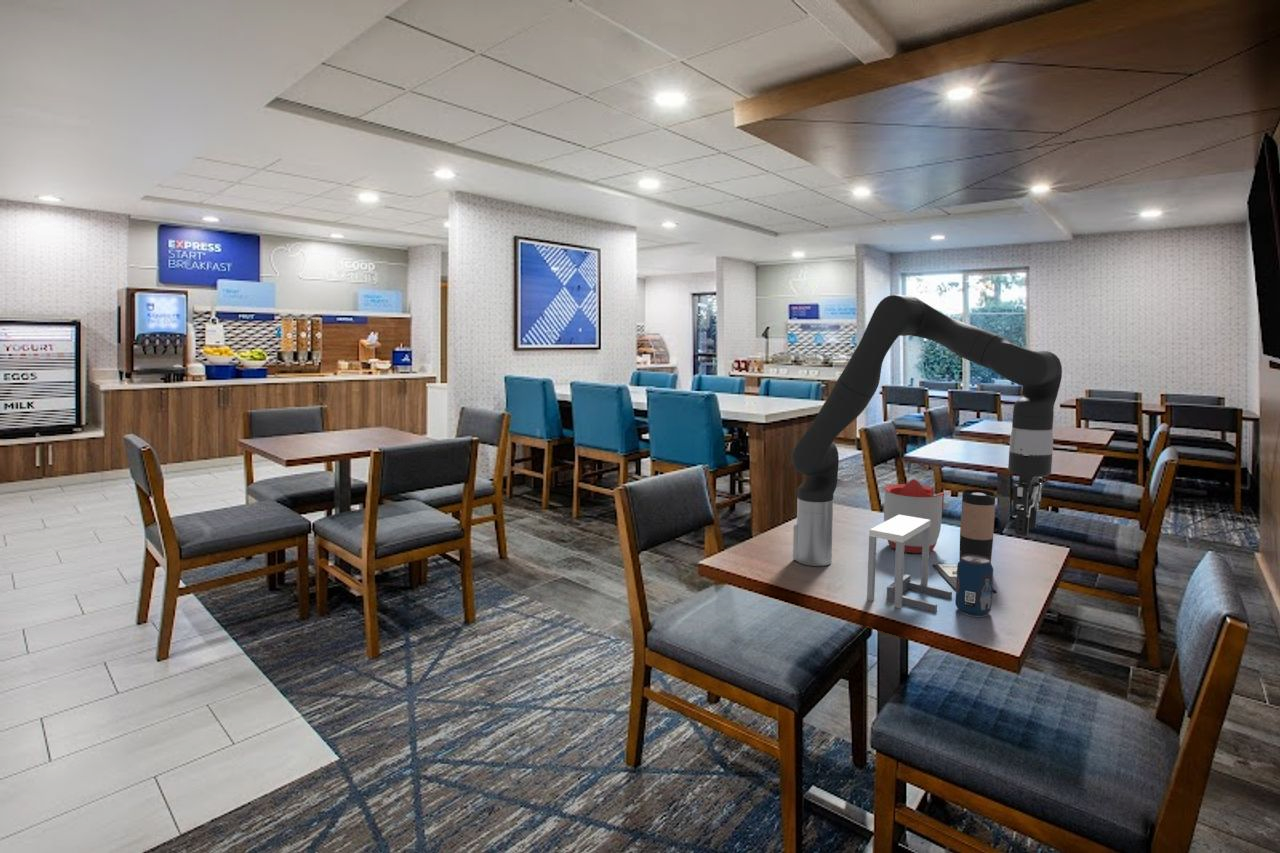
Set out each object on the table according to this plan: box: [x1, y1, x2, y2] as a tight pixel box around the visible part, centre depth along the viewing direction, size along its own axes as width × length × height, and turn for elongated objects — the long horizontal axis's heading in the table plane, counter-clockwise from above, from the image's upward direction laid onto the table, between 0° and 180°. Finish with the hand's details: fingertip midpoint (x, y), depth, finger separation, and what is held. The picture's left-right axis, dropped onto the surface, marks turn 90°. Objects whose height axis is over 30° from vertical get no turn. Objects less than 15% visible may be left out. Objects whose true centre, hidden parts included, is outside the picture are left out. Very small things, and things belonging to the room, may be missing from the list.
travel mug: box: [958, 489, 996, 564], centre depth 170 cm, size 8×8×20 cm
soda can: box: [954, 554, 994, 618], centre depth 143 cm, size 7×7×12 cm
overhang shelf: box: [866, 515, 953, 613], centre depth 151 cm, size 14×17×16 cm
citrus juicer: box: [883, 478, 949, 554], centre depth 187 cm, size 16×17×20 cm
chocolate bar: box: [931, 563, 997, 594], centre depth 164 cm, size 9×1×18 cm
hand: (1025, 530), depth 135 cm, fingers open, 6 cm apart
